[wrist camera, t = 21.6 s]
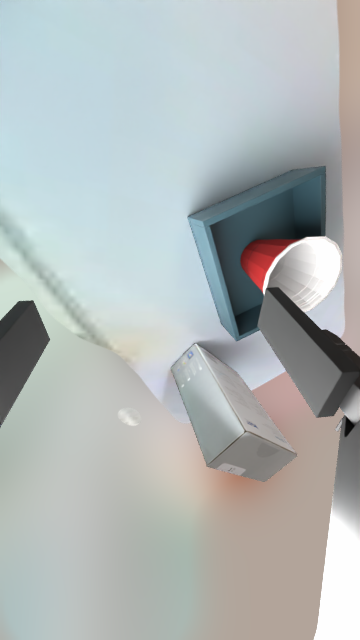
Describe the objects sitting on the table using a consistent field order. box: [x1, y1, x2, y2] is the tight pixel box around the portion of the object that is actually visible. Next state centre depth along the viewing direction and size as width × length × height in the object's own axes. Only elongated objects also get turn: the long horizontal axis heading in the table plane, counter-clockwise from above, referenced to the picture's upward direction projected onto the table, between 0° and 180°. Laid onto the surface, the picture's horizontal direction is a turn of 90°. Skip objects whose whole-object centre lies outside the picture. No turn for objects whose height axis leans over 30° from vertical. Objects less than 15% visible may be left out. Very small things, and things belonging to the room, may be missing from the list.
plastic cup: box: [240, 236, 342, 313], centre depth 34 cm, size 11×11×12 cm
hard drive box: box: [171, 344, 297, 482], centre depth 41 cm, size 16×8×20 cm, turn 47°
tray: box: [188, 166, 326, 341], centre depth 37 cm, size 21×18×6 cm
